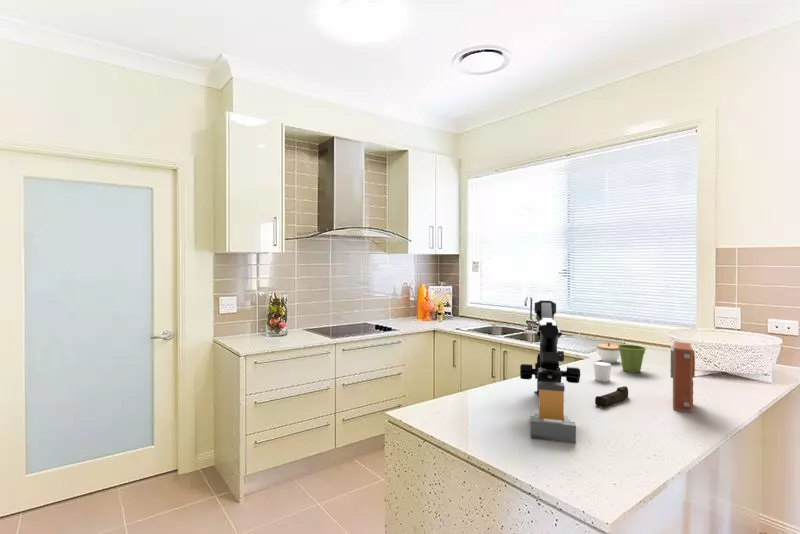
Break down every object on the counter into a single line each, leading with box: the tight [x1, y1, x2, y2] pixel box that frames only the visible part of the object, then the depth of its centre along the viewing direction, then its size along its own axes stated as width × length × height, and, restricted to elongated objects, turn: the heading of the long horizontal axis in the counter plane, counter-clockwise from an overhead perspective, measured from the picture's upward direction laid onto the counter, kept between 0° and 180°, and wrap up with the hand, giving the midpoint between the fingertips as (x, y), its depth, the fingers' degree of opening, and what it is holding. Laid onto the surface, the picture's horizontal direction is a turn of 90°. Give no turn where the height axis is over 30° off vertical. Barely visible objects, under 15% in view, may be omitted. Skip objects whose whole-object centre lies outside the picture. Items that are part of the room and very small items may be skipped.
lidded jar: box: [596, 342, 621, 364], centre depth 217 cm, size 11×11×9 cm
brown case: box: [669, 341, 696, 413], centre depth 150 cm, size 21×7×15 cm
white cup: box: [593, 361, 612, 382], centre depth 184 cm, size 7×7×7 cm
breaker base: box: [530, 412, 577, 444], centre depth 129 cm, size 16×12×5 cm
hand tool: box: [594, 385, 629, 409], centre depth 154 cm, size 19×4×5 cm, turn 122°
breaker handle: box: [538, 381, 565, 421], centre depth 132 cm, size 3×7×12 cm, turn 73°
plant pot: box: [617, 344, 647, 373], centre depth 198 cm, size 12×12×11 cm
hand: (550, 396), depth 137 cm, fingers closed
